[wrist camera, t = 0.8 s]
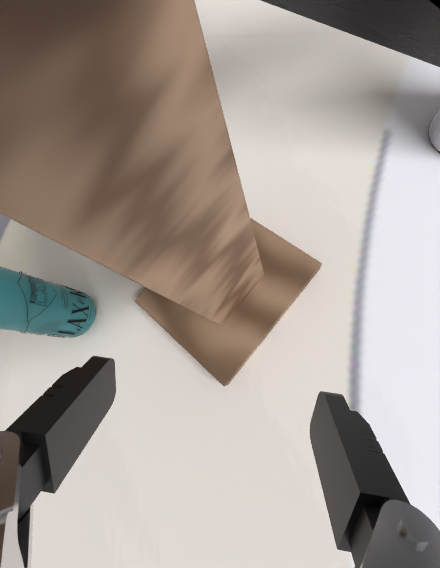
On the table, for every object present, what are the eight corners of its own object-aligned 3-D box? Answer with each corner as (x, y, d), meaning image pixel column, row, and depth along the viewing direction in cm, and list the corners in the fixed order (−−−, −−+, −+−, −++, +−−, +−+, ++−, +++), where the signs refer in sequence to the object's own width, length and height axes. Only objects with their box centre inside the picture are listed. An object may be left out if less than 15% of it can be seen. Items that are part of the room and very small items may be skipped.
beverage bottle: (77, 348, 38) (-127, 339, 19) (58, 313, 40) (-140, 275, 21) (112, 318, 38) (-58, 278, 19) (91, 285, 40) (-80, 221, 21)
